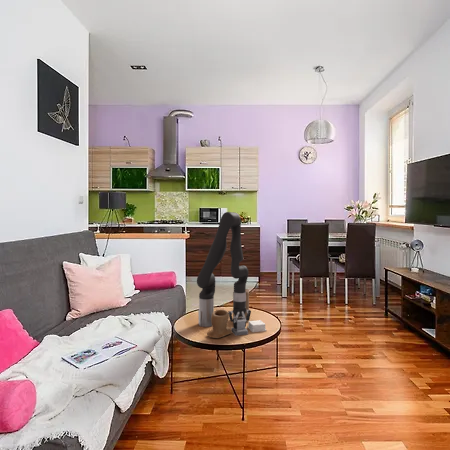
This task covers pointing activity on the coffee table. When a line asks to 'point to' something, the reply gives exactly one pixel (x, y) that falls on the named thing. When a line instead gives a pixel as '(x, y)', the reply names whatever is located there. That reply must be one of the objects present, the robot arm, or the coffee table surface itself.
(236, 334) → the stand
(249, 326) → the stand
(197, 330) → the coffee table surface
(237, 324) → the housing
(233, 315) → the block
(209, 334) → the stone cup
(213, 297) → the robot arm
